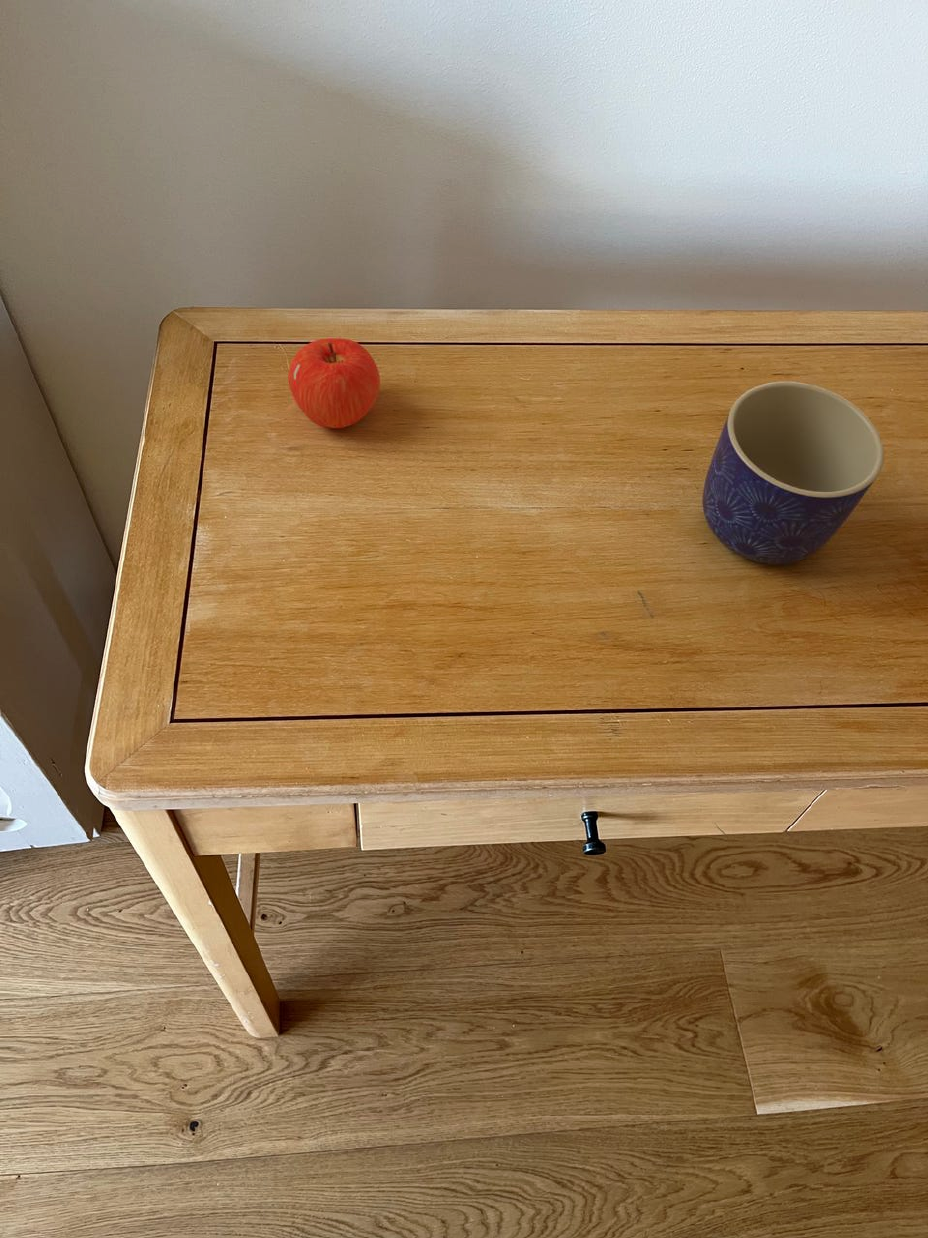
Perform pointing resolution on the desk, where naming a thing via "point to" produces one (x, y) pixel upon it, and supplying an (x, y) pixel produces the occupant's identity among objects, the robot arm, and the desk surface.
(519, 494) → the desk surface
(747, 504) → the planter
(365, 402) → the apple
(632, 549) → the desk surface
